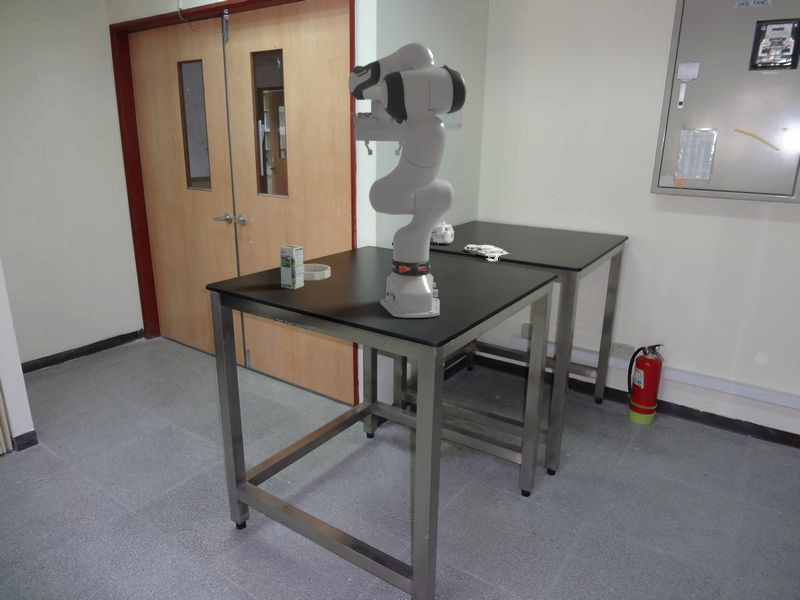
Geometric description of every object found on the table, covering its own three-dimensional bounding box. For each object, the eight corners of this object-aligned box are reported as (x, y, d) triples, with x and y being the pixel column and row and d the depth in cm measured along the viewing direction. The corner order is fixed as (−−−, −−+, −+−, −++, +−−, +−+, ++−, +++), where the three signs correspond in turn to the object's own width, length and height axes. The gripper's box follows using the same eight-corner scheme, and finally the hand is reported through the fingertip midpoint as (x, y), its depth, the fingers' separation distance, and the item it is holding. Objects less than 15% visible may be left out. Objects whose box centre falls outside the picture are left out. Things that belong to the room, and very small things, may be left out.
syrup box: (280, 288, 186) (278, 246, 182) (291, 284, 192) (289, 243, 188) (294, 290, 184) (292, 248, 180) (304, 286, 189) (303, 245, 185)
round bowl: (330, 281, 197) (330, 272, 196) (285, 281, 195) (285, 273, 194) (330, 271, 212) (330, 263, 211) (289, 272, 210) (288, 264, 209)
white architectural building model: (474, 263, 234) (475, 252, 233) (462, 252, 258) (463, 242, 257) (525, 262, 236) (526, 252, 235) (509, 251, 260) (509, 242, 259)
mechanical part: (435, 242, 279) (436, 219, 276) (456, 245, 273) (457, 221, 270) (424, 245, 270) (425, 221, 267) (446, 248, 264) (447, 224, 261)
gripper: (353, 111, 179) (353, 154, 182) (414, 112, 181) (414, 155, 185) (352, 112, 185) (353, 154, 188) (412, 113, 187) (411, 155, 191)
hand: (383, 155), depth 187 cm, fingers open, 8 cm apart
